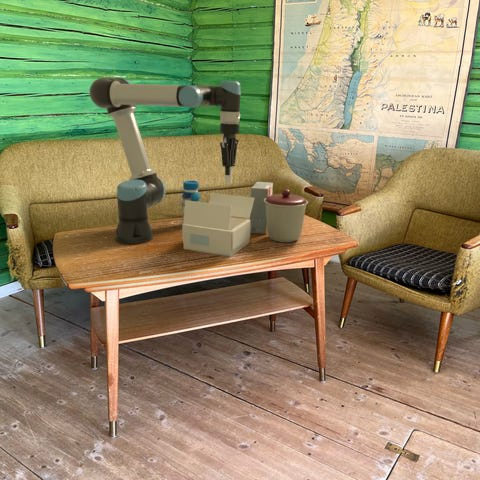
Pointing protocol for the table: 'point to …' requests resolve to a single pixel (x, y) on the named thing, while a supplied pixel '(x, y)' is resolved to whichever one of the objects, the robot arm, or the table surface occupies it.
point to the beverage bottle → (190, 193)
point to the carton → (217, 238)
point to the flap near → (207, 215)
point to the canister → (285, 216)
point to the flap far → (234, 203)
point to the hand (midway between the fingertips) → (228, 182)
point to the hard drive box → (259, 207)
